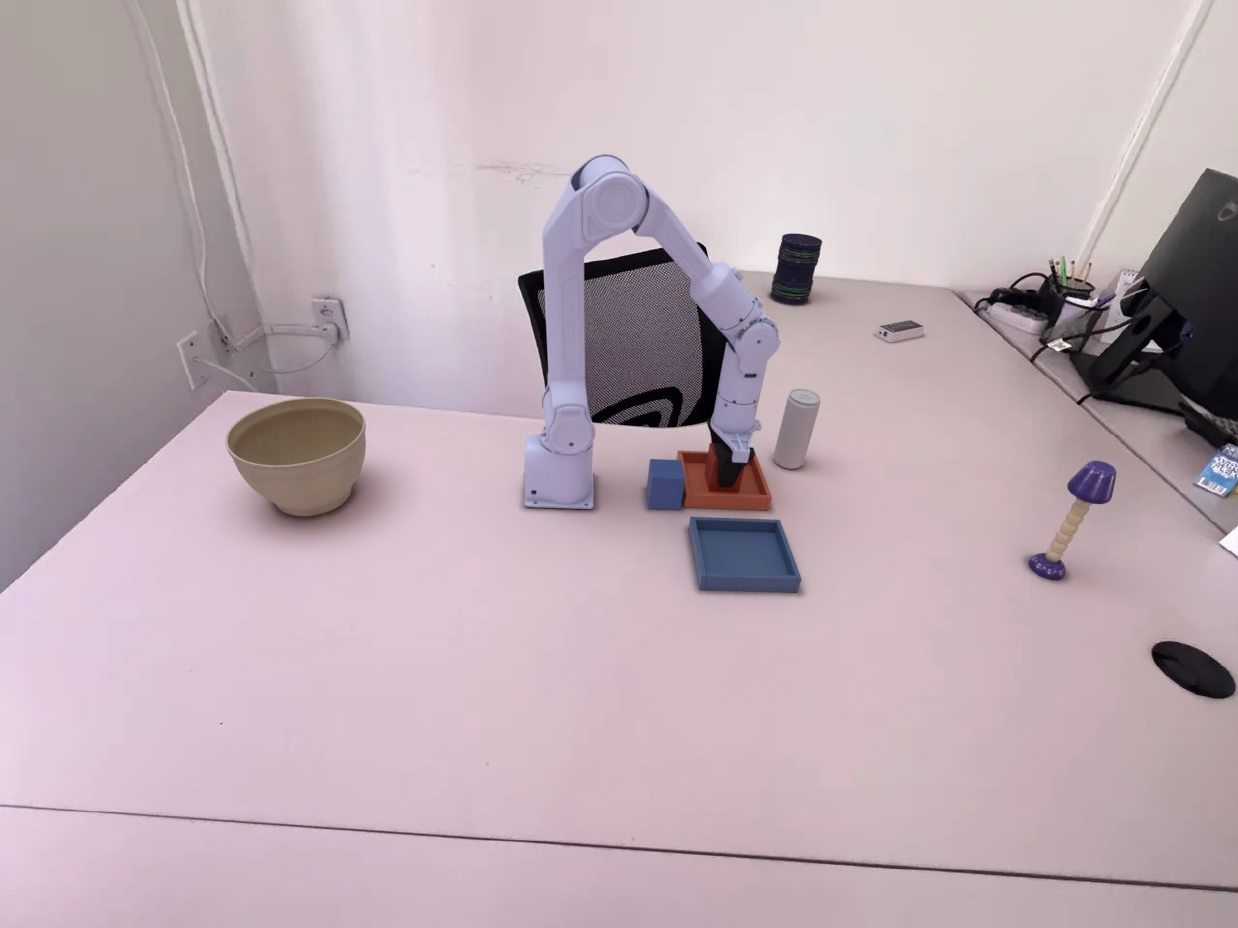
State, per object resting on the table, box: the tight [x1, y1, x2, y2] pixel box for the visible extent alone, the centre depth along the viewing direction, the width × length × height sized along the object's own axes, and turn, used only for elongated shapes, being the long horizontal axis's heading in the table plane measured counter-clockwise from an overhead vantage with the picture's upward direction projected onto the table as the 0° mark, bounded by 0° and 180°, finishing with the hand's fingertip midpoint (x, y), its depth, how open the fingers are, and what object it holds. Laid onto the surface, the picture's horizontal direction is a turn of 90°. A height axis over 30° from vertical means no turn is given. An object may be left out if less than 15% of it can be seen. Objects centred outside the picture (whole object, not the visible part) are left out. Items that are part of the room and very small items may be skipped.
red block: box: [704, 442, 744, 492], centre depth 95 cm, size 4×4×6 cm
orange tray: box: [676, 449, 773, 511], centre depth 97 cm, size 12×11×2 cm
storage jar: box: [769, 232, 823, 306], centre depth 162 cm, size 10×10×15 cm
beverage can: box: [772, 388, 822, 470], centre depth 100 cm, size 5×5×12 cm
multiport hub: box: [875, 319, 925, 344], centre depth 150 cm, size 4×11×2 cm, turn 119°
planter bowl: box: [225, 396, 367, 517], centre depth 85 cm, size 16×16×11 cm
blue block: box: [645, 458, 685, 511], centre depth 92 cm, size 4×4×6 cm
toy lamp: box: [1028, 459, 1117, 581], centre depth 82 cm, size 5×5×17 cm
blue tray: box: [688, 516, 802, 593], centre depth 83 cm, size 12×11×2 cm
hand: (722, 475), depth 96 cm, fingers closed on red block, 4 cm apart
